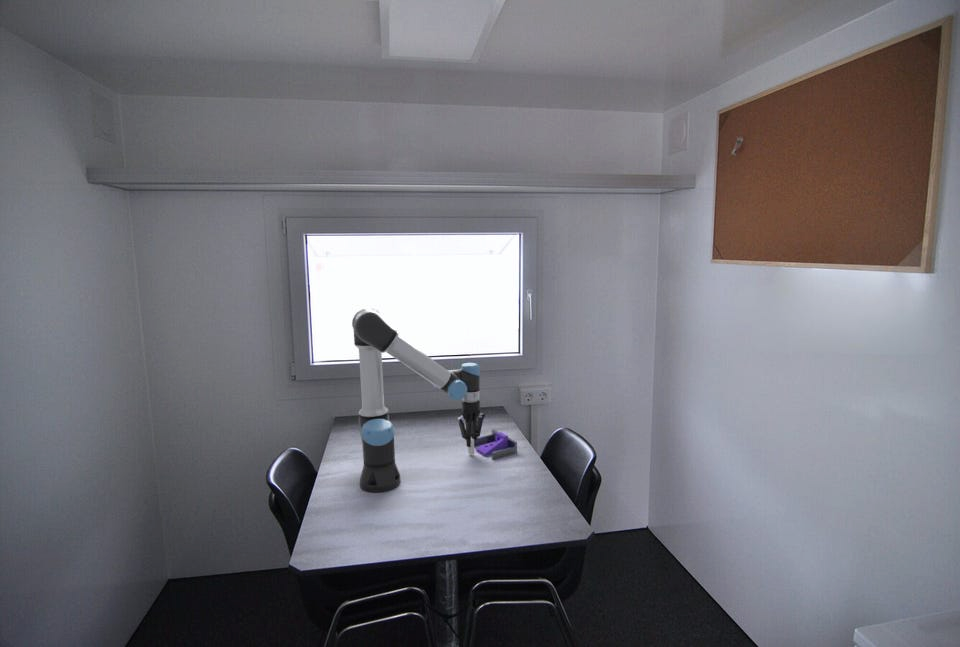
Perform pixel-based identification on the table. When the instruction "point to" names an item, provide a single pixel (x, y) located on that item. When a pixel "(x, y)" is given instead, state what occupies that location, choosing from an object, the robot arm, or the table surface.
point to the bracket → (494, 445)
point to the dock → (500, 453)
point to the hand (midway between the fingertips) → (471, 453)
